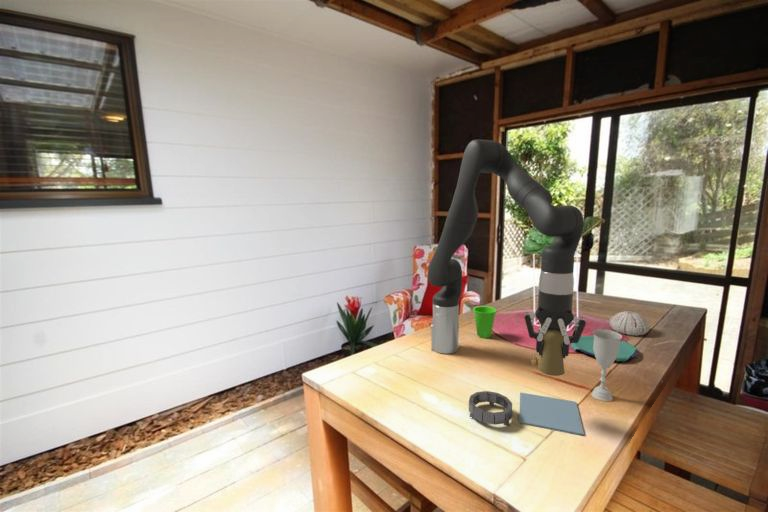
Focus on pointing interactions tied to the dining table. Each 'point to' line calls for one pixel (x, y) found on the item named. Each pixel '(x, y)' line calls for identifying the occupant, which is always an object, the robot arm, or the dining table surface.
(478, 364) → the dining table surface
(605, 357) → the chalice
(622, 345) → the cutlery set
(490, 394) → the grey segmented ring
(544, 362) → the cork
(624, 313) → the sea urchin shell
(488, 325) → the cup
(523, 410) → the rubber mat
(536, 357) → the dice set
